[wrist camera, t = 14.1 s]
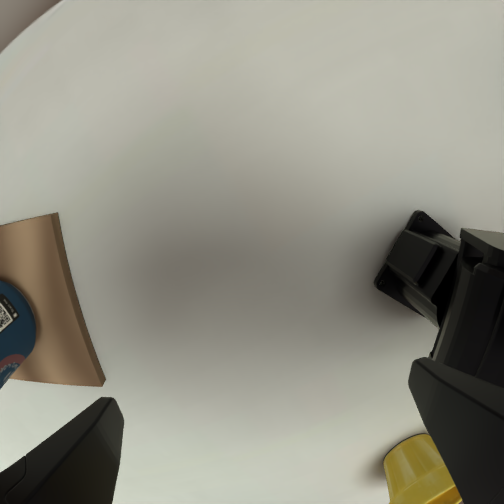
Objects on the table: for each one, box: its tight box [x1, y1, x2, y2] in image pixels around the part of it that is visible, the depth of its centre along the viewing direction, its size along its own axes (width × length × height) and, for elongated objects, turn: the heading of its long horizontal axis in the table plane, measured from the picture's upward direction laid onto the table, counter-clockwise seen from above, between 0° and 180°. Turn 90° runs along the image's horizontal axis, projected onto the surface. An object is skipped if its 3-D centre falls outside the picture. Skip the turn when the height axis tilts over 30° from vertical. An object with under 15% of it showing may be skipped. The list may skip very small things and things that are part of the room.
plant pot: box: [383, 434, 462, 504], centre depth 24 cm, size 10×10×10 cm
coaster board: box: [0, 213, 106, 387], centre depth 20 cm, size 14×14×1 cm
